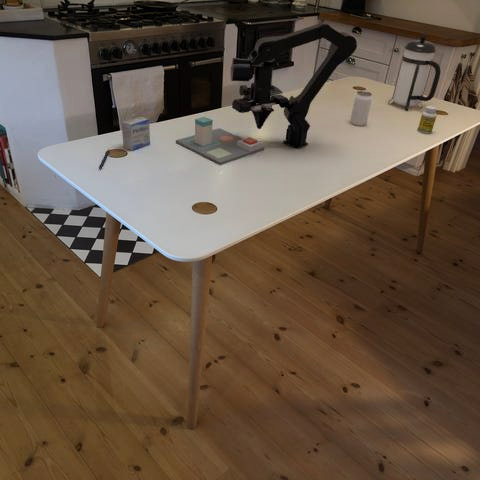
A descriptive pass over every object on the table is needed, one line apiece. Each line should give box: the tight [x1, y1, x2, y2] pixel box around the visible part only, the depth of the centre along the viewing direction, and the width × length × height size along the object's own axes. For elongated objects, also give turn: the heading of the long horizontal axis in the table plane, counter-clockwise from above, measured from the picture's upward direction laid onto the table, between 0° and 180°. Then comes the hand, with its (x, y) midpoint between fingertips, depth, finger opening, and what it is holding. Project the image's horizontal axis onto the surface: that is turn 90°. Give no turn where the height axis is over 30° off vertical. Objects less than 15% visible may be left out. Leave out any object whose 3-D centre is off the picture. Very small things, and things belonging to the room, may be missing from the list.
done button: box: [243, 136, 258, 145], centre depth 154 cm, size 3×3×2 cm
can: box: [349, 90, 373, 127], centre depth 181 cm, size 6×6×12 cm
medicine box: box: [120, 116, 151, 152], centre depth 148 cm, size 8×4×9 cm, turn 143°
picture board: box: [175, 127, 265, 166], centre depth 155 cm, size 22×20×3 cm
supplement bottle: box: [417, 105, 438, 135], centre depth 179 cm, size 5×5×10 cm
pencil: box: [98, 149, 110, 170], centre depth 141 cm, size 1×1×15 cm
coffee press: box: [388, 34, 441, 112], centre depth 199 cm, size 17×16×30 cm
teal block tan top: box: [194, 116, 213, 146], centre depth 152 cm, size 4×4×8 cm
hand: (258, 128), depth 156 cm, fingers closed
